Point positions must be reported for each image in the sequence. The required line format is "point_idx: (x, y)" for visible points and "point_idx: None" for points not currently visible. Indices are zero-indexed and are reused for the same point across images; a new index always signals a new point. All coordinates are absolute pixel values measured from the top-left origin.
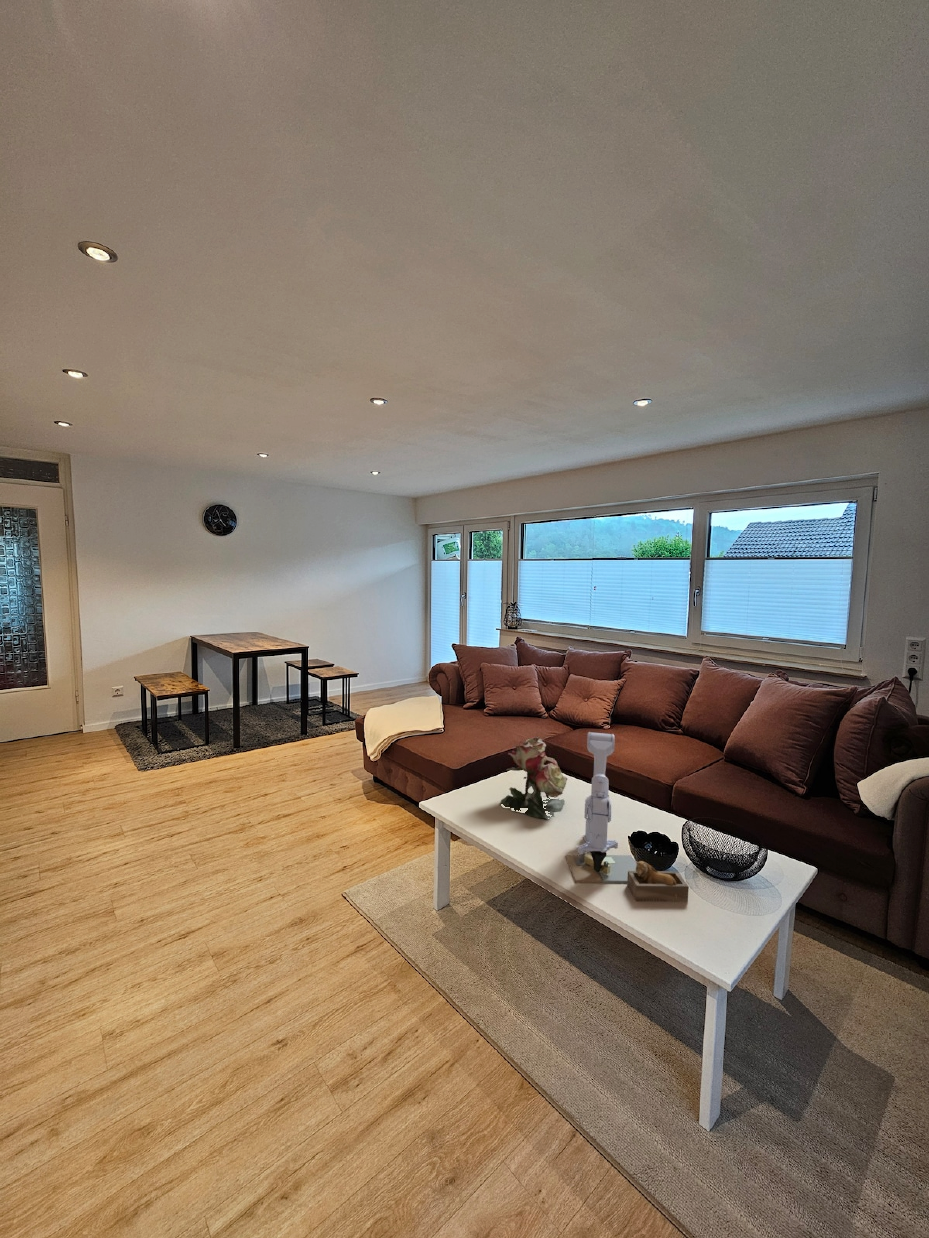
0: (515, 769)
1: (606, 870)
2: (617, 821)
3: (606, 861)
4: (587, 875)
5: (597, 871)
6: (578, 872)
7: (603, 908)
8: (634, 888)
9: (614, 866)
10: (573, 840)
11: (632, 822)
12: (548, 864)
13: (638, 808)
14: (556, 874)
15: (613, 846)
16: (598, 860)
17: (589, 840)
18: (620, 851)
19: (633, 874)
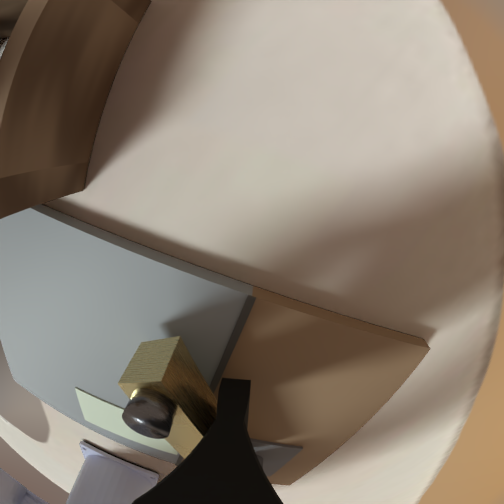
0: None
1: (172, 362)
2: (47, 460)
3: (135, 430)
4: (322, 376)
5: (248, 383)
6: (349, 407)
7: (441, 32)
8: (93, 10)
9: (87, 374)
10: None
11: (18, 439)
12: (394, 452)
13: (11, 445)
14: (432, 404)
15: (28, 501)
16: (254, 478)
17: (145, 492)
18: (48, 413)
19: None
